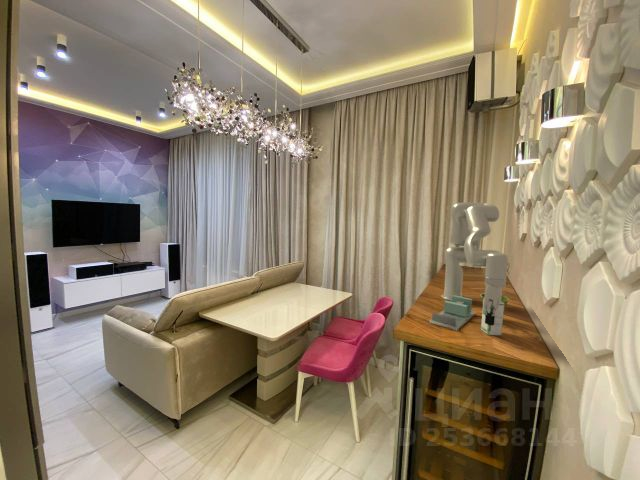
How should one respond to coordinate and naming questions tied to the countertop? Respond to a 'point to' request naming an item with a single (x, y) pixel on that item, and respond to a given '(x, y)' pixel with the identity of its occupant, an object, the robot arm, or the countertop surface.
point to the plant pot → (504, 300)
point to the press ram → (458, 305)
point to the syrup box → (498, 320)
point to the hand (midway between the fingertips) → (491, 321)
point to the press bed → (459, 322)
